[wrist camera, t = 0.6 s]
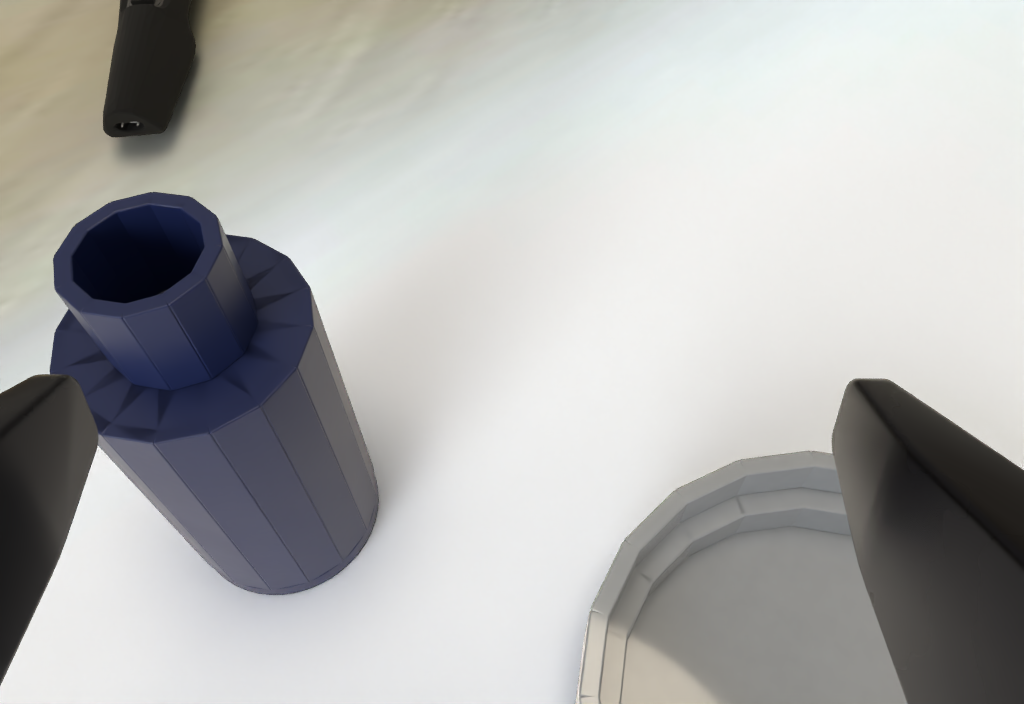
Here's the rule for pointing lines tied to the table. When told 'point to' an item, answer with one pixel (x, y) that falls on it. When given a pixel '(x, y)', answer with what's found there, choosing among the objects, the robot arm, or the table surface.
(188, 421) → the dark blue vase
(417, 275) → the table surface
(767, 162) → the table surface
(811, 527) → the steel dish
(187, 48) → the electric trimmer
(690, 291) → the table surface
